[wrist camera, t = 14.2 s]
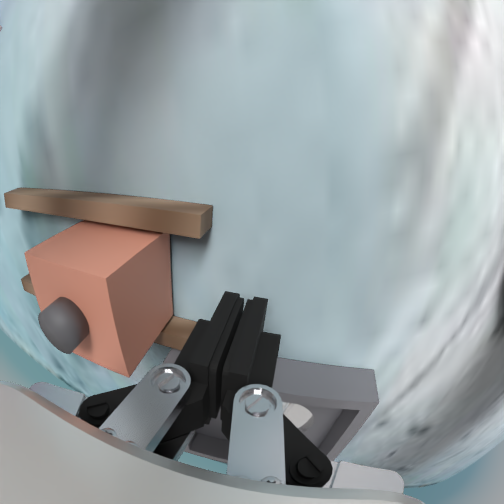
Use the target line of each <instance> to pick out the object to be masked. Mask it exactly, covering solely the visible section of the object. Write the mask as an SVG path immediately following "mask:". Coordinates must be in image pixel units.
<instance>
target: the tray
mask: <svg viewBox="0 0 504 504" xmlns="http://www.w3.org/2000/svg"><path fill="white" fill-rule="evenodd" d="M180 352H181V350H178V349H174V348H172V349H171V350H170V352H169V354H168V355H167V357H166V358H165V360H164V362H163V363H162V364H165V363H171V364H174V363H175V361H176V359H177V357H178V355H179V354H180ZM272 389H274V390H275V391H276V392H277V393H278V394H279V396H280V397H281V400H282V402H286V403H293V404H299V405H301V406H304V407H305V408H306V409H308V410H309V411H310V412H311V413H312V415H313V417H314V423H313V425H312V426H311V427H310V428H309V429H308V430H306V431H305V432H303V434H304V435H305V436H306V437H307V438H308V439H309V440H310V441H311V442H312V443H313V444H314V445H315V446H316V447H317V448H318V449H319V450H320V451H322V452H323V453H324V454H325V455H326V456H327V457H328V459H329V460H330V461H334V459H335V458H336V457H337V456H338V455H339V454H340V453H341V451H342V450H343V449H344V448H345V447H346V445H347V444H348V443H349V442H350V441H351V439H352V438H353V437H354V436H355V434H356V433H357V432H358V431H359V429H360V428H361V427H362V425H363V424H364V423H365V421H366V420H367V419H368V417H369V416H370V415H371V413H372V412H373V410H374V409H375V408H376V406H377V405H378V403H379V399H378V392H377V386H376V380H375V374H374V370H371V369H360V368H350V367H340V366H332V365H324V364H317V363H310V362H303V361H296V360H290V359H284V358H278V357H277V363H276V368H275V374H274V380H273V386H272ZM220 412H221V407H220V410H219V413H218V416H217V418H216V419H214V418H211V420H210V423H209V425H207V424H204V427H201V428H199V429H196V430H195V433H194V435H193V437H192V439H191V440H190V442H189V444H188V445H187V447H186V448H185V450H184V451H185V452H188V453H191V454H194V455H198V456H201V457H205V458H209V459H212V460H216V461H220V462H224V463H228V454H229V444H230V442H229V441H228V439H227V438H226V437H225V435H224V434H223V433H222V431H221V428H222V420H220Z"/></svg>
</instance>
